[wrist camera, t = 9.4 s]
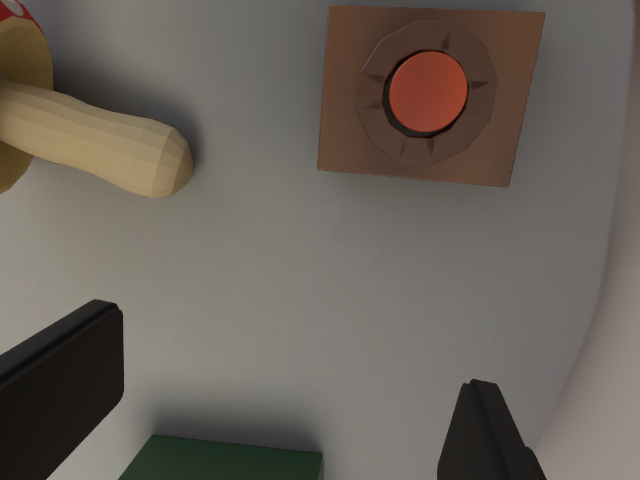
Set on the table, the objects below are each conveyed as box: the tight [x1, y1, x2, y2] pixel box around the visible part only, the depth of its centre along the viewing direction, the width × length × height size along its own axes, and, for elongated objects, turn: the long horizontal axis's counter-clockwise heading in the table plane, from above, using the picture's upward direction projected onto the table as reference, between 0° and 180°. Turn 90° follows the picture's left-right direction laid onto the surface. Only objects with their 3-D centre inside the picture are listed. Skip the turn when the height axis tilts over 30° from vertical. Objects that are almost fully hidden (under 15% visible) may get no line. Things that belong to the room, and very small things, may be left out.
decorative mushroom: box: [0, 0, 194, 199], centre depth 21 cm, size 11×11×15 cm
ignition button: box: [389, 52, 467, 132], centre depth 17 cm, size 3×3×2 cm
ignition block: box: [317, 5, 545, 187], centre depth 20 cm, size 10×8×4 cm
